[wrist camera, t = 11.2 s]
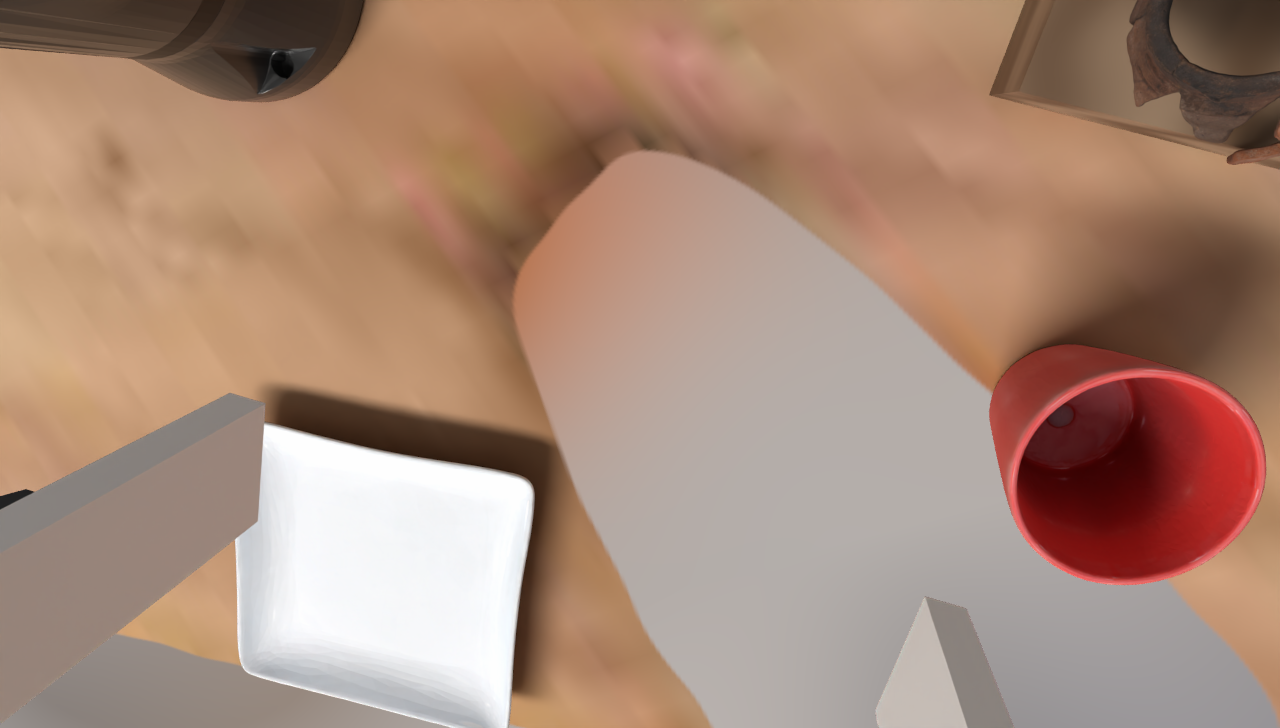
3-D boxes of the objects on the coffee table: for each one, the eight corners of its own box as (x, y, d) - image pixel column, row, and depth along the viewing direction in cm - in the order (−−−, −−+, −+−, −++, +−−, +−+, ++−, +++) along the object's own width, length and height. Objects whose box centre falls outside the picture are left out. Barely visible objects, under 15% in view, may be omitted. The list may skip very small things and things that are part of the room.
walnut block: (989, 95, 39) (1018, 91, 34) (1073, -123, 36) (1118, -160, 31) (1305, 176, 38) (1381, 183, 33) (1423, -42, 34) (1525, -68, 30)
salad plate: (256, 399, 53) (222, 417, 49) (549, 458, 50) (534, 481, 47) (264, 646, 59) (235, 676, 56) (522, 709, 57) (507, 744, 54)
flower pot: (936, 470, 46) (977, 557, 37) (995, 297, 42) (1057, 346, 33) (1117, 512, 45) (1206, 612, 35) (1193, 338, 41) (1315, 399, 32)
